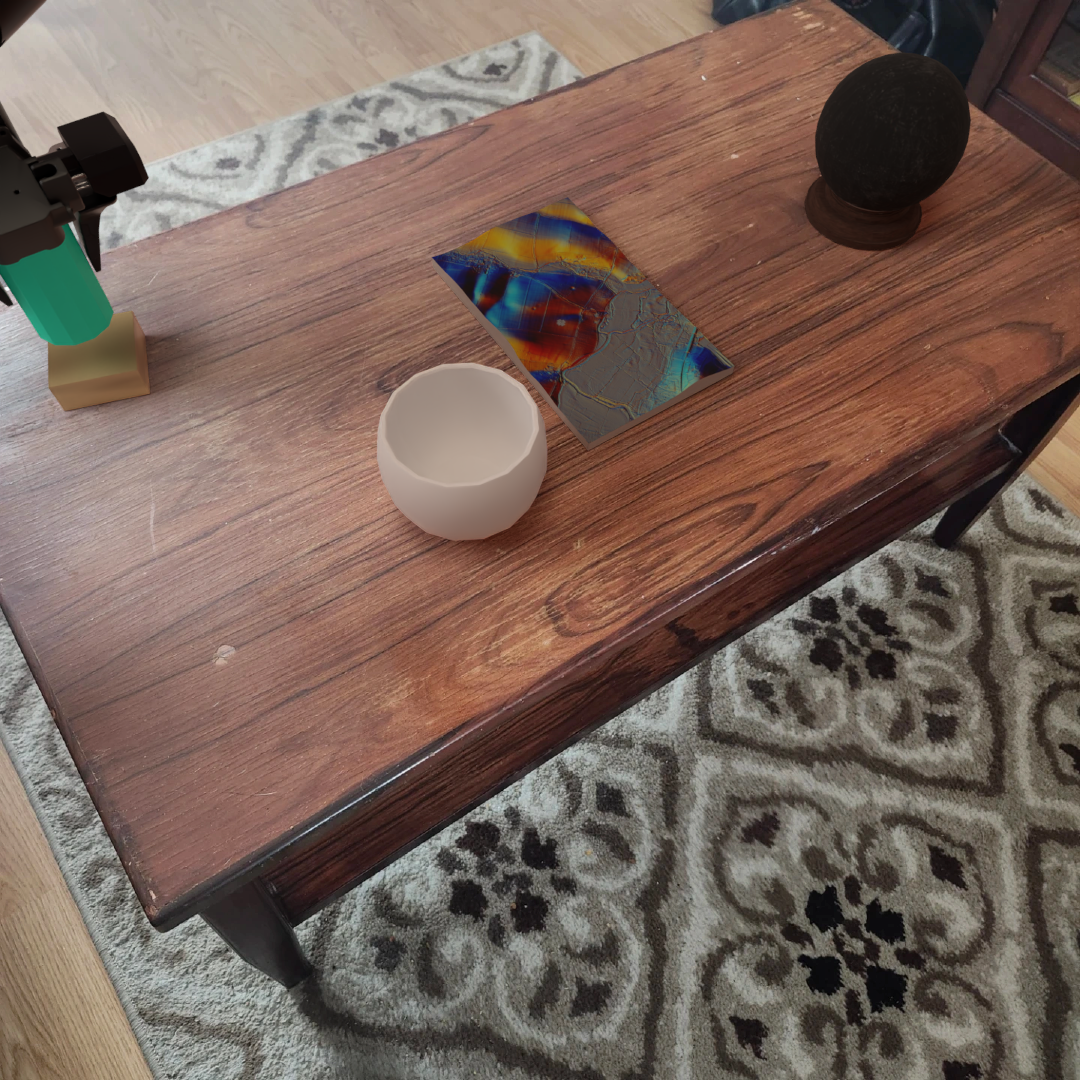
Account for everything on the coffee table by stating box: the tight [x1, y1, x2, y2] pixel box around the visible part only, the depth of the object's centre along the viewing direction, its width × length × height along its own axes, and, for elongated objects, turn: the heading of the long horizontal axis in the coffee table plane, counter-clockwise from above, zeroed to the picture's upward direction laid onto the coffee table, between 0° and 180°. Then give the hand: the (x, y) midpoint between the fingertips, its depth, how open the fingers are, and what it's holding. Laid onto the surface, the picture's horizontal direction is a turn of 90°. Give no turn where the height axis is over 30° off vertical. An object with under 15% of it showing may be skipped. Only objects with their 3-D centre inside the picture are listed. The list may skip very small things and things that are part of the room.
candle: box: [0, 223, 115, 346], centre depth 67 cm, size 6×6×12 cm
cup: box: [376, 362, 548, 542], centre depth 67 cm, size 12×12×10 cm
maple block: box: [47, 310, 151, 412], centre depth 77 cm, size 7×7×3 cm
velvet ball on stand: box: [804, 52, 972, 252], centre depth 83 cm, size 13×13×15 cm
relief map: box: [431, 196, 736, 451], centre depth 81 cm, size 25×15×2 cm, turn 33°
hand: (53, 285), depth 69 cm, fingers closed on candle, 6 cm apart
